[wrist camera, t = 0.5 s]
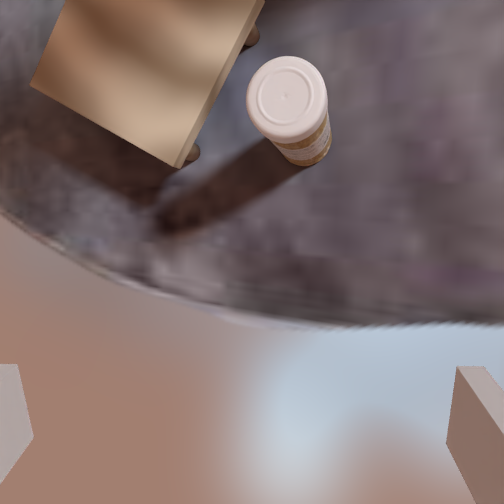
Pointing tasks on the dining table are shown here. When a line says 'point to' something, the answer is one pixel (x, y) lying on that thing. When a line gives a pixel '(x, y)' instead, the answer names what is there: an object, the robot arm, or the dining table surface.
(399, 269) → the dining table surface
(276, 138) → the spice jar
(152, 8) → the stool
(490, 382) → the robot arm
